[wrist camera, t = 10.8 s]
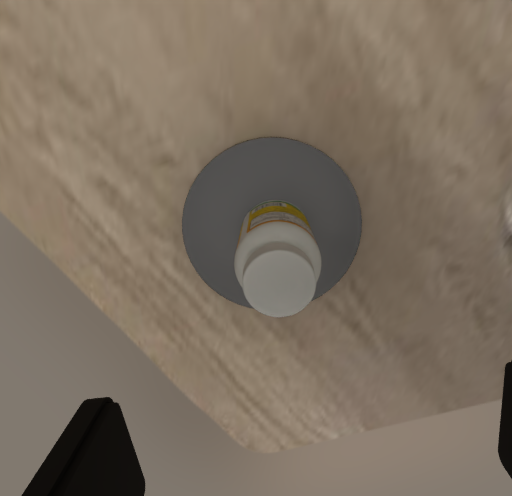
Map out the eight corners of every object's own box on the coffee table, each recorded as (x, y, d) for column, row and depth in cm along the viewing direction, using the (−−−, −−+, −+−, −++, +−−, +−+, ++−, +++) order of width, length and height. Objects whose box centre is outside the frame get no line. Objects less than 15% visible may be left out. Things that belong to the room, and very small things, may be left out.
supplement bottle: (268, 184, 27) (270, 216, 18) (323, 225, 28) (351, 275, 19) (227, 239, 29) (210, 293, 20) (280, 276, 30) (288, 345, 21)
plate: (354, 124, 27) (358, 125, 26) (360, 294, 32) (364, 300, 30) (169, 150, 28) (165, 151, 27) (202, 311, 32) (199, 318, 31)
